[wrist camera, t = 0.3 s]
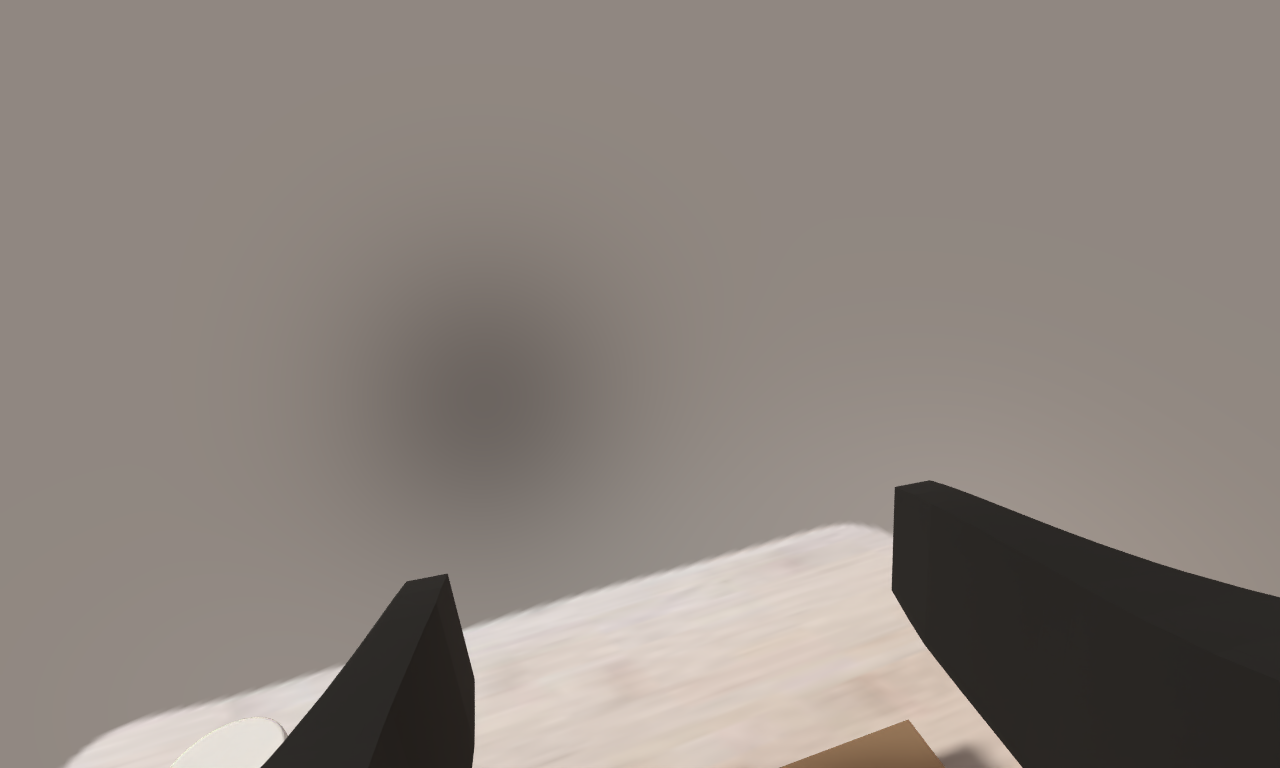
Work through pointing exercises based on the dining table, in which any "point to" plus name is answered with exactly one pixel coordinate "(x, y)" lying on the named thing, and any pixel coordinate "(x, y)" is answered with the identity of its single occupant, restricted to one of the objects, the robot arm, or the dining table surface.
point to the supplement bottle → (235, 745)
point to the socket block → (877, 751)
